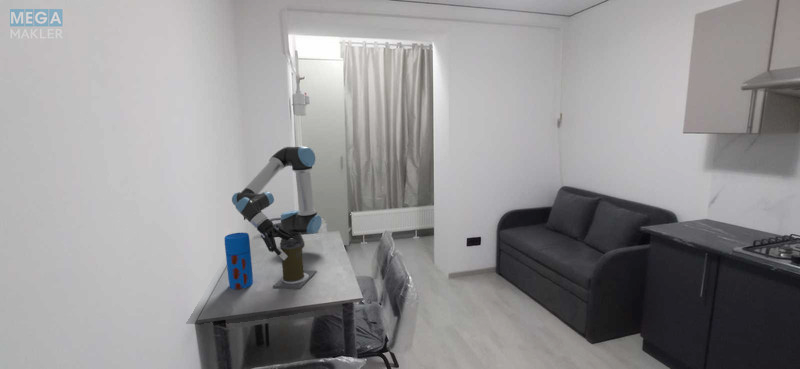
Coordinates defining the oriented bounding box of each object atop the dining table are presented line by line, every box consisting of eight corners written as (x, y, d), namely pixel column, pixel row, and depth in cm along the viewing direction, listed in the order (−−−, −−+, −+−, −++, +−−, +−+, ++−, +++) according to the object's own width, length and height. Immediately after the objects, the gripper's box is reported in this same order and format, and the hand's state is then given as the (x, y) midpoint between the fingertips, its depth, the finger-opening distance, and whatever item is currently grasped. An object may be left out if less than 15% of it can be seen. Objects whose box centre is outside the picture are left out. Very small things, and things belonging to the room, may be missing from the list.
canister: (297, 282, 172) (295, 243, 168) (278, 281, 174) (275, 242, 171) (308, 273, 182) (305, 236, 179) (290, 272, 184) (287, 235, 181)
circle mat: (292, 270, 189) (291, 269, 188) (316, 272, 186) (316, 270, 186) (272, 287, 169) (272, 285, 169) (300, 289, 167) (299, 287, 167)
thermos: (236, 279, 179) (231, 232, 175) (256, 279, 178) (252, 232, 174) (225, 289, 168) (219, 239, 164) (247, 289, 168) (242, 239, 163)
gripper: (270, 221, 188) (298, 249, 188) (242, 236, 164) (275, 268, 164) (279, 212, 186) (307, 240, 186) (252, 225, 162) (285, 257, 162)
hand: (292, 253), depth 175 cm, fingers open, 13 cm apart
